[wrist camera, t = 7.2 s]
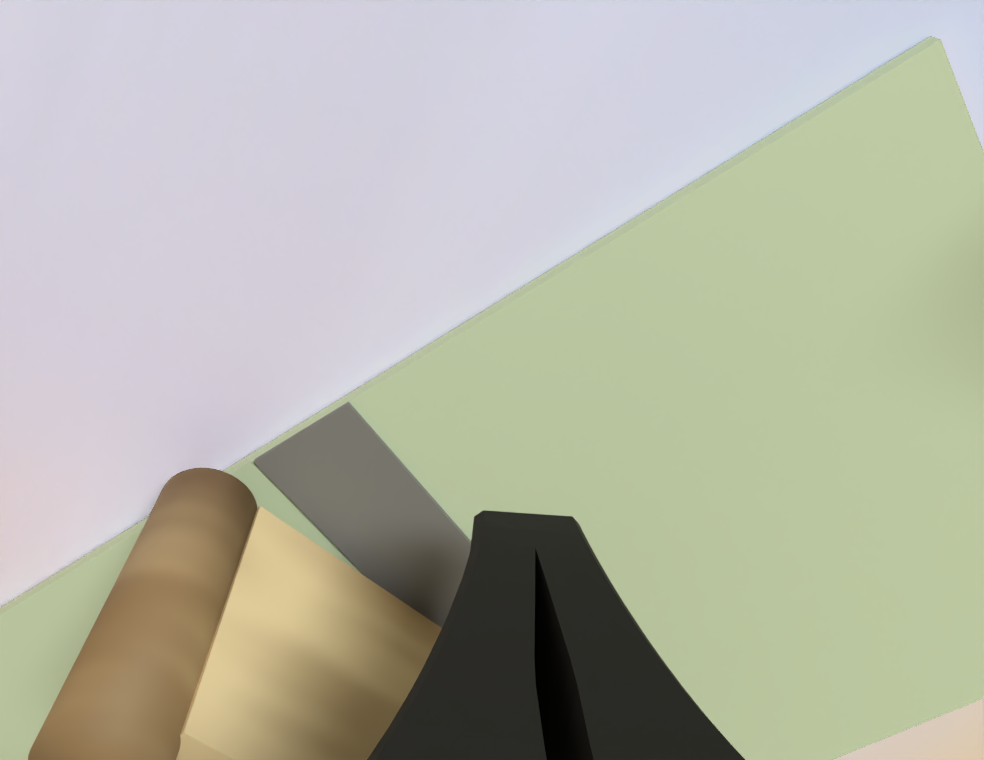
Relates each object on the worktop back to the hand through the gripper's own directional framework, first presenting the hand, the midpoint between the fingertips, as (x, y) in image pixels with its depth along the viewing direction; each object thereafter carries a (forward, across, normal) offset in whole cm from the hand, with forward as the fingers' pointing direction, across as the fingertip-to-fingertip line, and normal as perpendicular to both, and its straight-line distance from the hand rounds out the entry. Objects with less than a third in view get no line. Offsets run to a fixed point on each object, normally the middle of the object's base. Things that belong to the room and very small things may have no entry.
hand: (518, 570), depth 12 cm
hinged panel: (+3, +2, +3) cm, 5 cm away
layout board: (+3, -1, +5) cm, 6 cm away
